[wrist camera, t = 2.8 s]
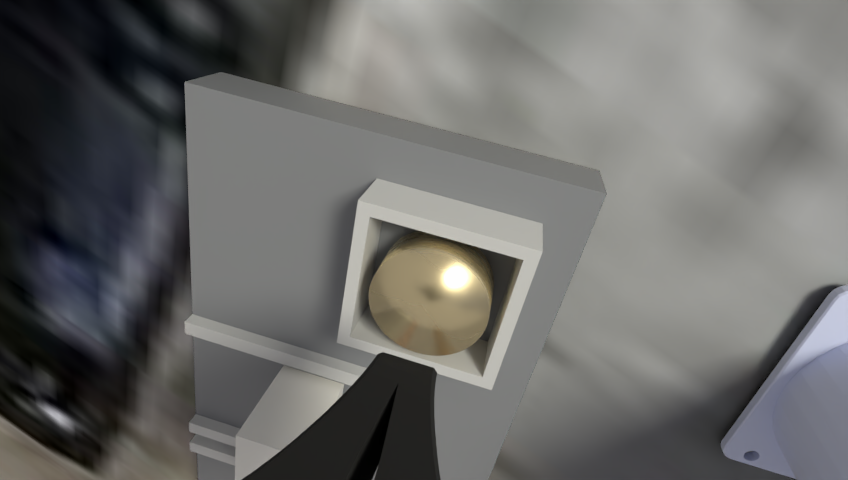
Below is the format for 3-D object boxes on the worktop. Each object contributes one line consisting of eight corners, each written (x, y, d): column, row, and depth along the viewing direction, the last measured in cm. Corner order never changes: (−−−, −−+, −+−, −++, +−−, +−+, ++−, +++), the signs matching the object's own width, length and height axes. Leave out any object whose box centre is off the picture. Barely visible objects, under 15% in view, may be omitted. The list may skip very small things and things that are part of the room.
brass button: (508, 247, 15) (504, 272, 14) (477, 339, 17) (472, 369, 15) (392, 215, 15) (378, 237, 14) (374, 308, 17) (360, 335, 16)
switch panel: (599, 170, 16) (614, 219, 12) (445, 558, 27) (432, 639, 23) (221, 72, 17) (143, 92, 14) (220, 481, 28) (177, 548, 24)
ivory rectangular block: (344, 384, 19) (306, 459, 16) (331, 457, 21) (296, 536, 18) (283, 365, 20) (235, 435, 16) (277, 439, 22) (234, 514, 19)
